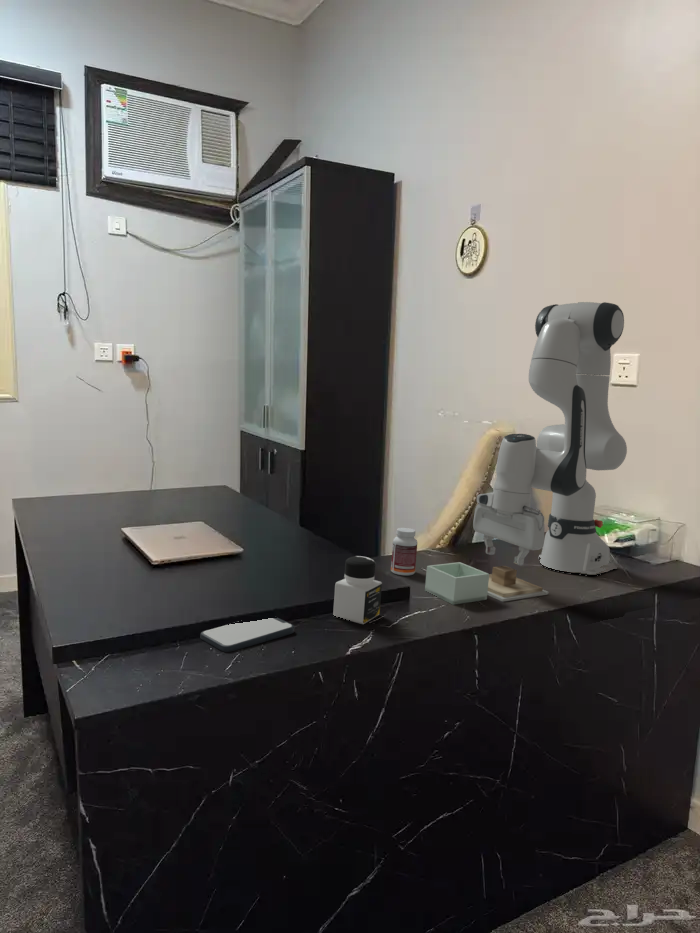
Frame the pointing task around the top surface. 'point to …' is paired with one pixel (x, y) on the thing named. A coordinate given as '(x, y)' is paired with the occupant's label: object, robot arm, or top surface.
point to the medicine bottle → (358, 591)
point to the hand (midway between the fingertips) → (503, 559)
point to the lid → (509, 583)
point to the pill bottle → (404, 552)
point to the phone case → (246, 633)
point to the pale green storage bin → (457, 583)
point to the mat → (517, 595)
